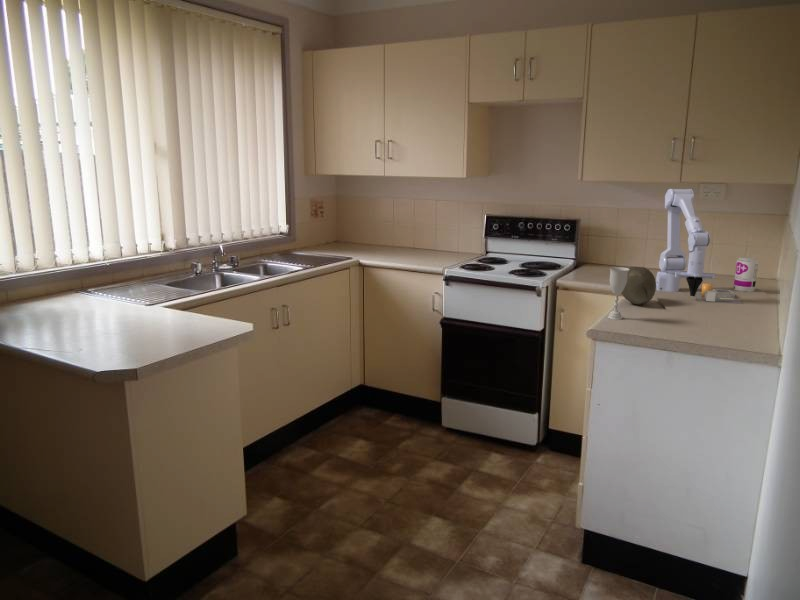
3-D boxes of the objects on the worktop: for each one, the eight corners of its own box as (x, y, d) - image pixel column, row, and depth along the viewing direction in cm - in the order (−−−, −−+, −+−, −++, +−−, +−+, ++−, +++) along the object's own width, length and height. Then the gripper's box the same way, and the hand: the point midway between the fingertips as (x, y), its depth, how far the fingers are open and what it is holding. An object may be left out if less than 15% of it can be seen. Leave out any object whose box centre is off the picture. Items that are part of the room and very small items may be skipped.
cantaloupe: (656, 302, 253) (660, 265, 250) (650, 309, 241) (654, 271, 238) (620, 298, 260) (623, 262, 257) (612, 305, 248) (616, 267, 245)
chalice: (609, 314, 233) (613, 266, 229) (627, 317, 229) (632, 268, 225) (601, 318, 228) (605, 269, 224) (620, 321, 224) (625, 271, 220)
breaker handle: (706, 301, 252) (707, 292, 251) (704, 298, 255) (705, 290, 255) (714, 301, 251) (715, 292, 250) (711, 299, 255) (713, 290, 254)
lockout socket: (716, 297, 260) (716, 292, 259) (711, 293, 266) (712, 289, 266) (734, 298, 258) (734, 293, 258) (728, 294, 265) (729, 290, 264)
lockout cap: (702, 296, 260) (703, 284, 259) (700, 295, 264) (701, 283, 263) (711, 297, 260) (713, 285, 258) (709, 295, 263) (710, 283, 262)
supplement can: (743, 294, 270) (747, 259, 267) (728, 290, 278) (732, 256, 275) (758, 293, 273) (763, 259, 269) (743, 289, 280) (748, 256, 277)
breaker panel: (700, 304, 251) (700, 300, 251) (689, 294, 269) (689, 291, 268) (743, 306, 248) (744, 302, 248) (729, 296, 266) (730, 293, 265)
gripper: (679, 263, 249) (675, 296, 252) (718, 264, 246) (714, 298, 249) (675, 260, 255) (671, 293, 258) (713, 261, 253) (709, 295, 256)
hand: (692, 295), depth 254 cm, fingers closed
